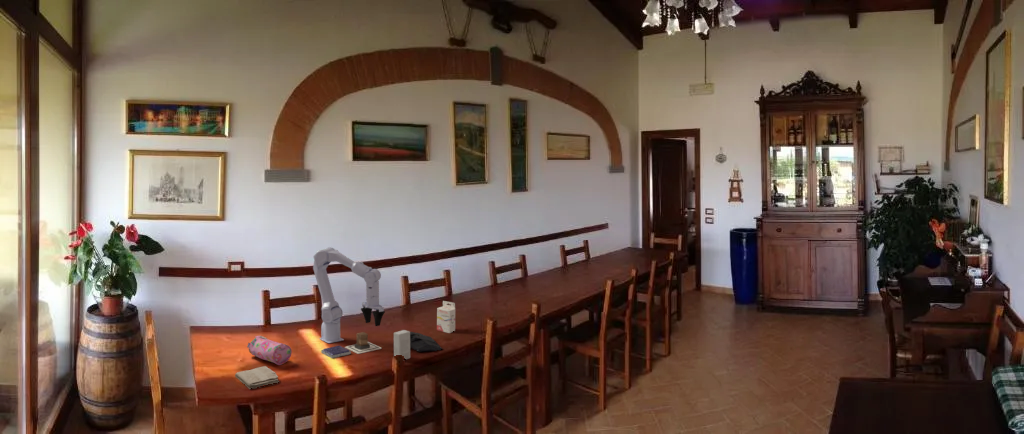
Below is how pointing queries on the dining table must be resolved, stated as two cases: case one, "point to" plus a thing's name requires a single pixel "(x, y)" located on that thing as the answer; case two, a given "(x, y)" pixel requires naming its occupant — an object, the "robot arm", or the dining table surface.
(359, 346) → the stamp
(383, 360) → the dining table surface
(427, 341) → the dark slate chunk
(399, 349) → the skincare box
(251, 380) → the washcloth
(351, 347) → the print card
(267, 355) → the pencil case
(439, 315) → the ink cartridge box
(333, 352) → the ink pad
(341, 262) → the robot arm
